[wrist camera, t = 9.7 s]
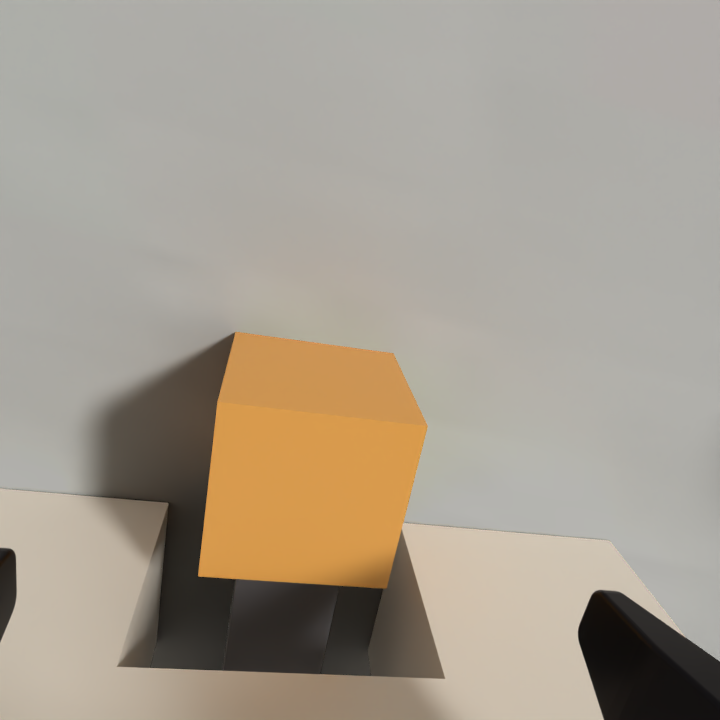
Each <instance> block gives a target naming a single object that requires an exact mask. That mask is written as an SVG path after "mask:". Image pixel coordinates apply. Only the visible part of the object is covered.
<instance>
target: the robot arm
mask: <svg viewBox="0 0 720 720" xmlns="http://www.w3.org/2000/svg"><path fill="white" fill-rule="evenodd" d="M16 597H17V575H16V555H15V552H14V551H13V550H12V549H10V548H0V642H1V640H2V637H3V635H4V632H5V630H6V628H7V625H8V623H9V620H10V618H11V615H12V613H13V610H14V607H15V603H16ZM578 640H579V645H580V648H581V651H582V654H583V657H584V660H585V663H586V666H587V669H588V672H589V676H590V679H591V682H592V685H593V688H594V691H595V694H596V697H597V700H598V703H599V707H600V710H601V713H602V716H603V719H604V720H720V661H718V660H717V659H715V658H714V657H712V656H711V655H710V654H708V653H707V652H705V651H704V650H703V649H701V648H700V647H698V646H697V645H695V644H694V643H693V642H691V641H690V640H688V639H687V638H685V637H684V636H683V635H681V634H680V633H678V632H677V631H676V630H674V629H673V628H671V627H670V626H668V625H667V624H666V623H664V622H663V621H661V620H660V619H658V618H657V617H656V616H654V615H653V614H651V613H650V612H648V611H647V610H646V609H644V608H643V607H641V606H640V605H639V604H637V603H636V602H634V601H633V600H631V599H630V598H629V597H627V596H626V595H624V594H623V593H621V592H618V591H611V590H597V591H595V592H594V593H593V594H592V595H591V597H590V599H589V602H588V604H587V607H586V609H585V612H584V614H583V617H582V619H581V621H580V624H579V627H578Z"/></svg>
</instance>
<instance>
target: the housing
mask: <svg viewBox="0 0 720 720" xmlns="http://www.w3.org/2000/svg"><path fill="white" fill-rule="evenodd" d="M168 504H169V503H163V502H152V501H140V500H128V499H117V498H105V497H93V496H81V495H70V494H58V493H46V492H35V491H23V490H11V489H0V548H10V549H12V550H13V551H14V552H15V555H16V575H17V597H16V603H15V607H14V610H13V613H12V615H11V618H10V620H9V623H8V625H7V628H6V630H5V632H4V635H3V637H2V640H1V642H0V720H604V719H603V716H602V713H601V710H600V707H599V703H598V700H597V697H596V694H595V691H594V688H593V685H592V682H591V679H590V676H589V672H588V669H587V666H586V663H585V660H584V657H583V654H582V651H581V648H580V645H579V640H578V627H579V624H580V621H581V619H582V617H583V614H584V612H585V609H586V607H587V604H588V602H589V599H590V597H591V595H592V594H593V593H594V592H595V591H597V590H611V591H618V592H621V593H623V594H624V595H626V596H627V597H629V598H630V599H631V600H633V601H634V602H636V603H637V604H639V605H640V606H641V607H643V608H644V609H646V610H647V611H648V612H650V613H651V614H653V615H654V616H656V617H657V618H658V619H660V620H661V621H663V622H664V623H666V624H667V625H668V626H670V627H671V628H673V629H674V630H676V631H677V632H678V633H680V634H681V635H683V636H684V634H683V633H682V632H681V631H680V629H679V628H678V627H677V626H676V624H675V623H674V622H673V621H672V619H671V618H670V617H669V615H668V614H667V613H666V612H665V610H664V609H663V608H662V607H661V605H660V604H659V603H658V601H657V600H656V599H655V598H654V596H653V595H652V594H651V593H650V591H649V590H648V589H647V588H646V586H645V585H644V584H643V582H642V581H641V580H640V579H639V577H638V576H637V575H636V574H635V572H634V571H633V570H632V568H631V567H630V566H629V565H628V563H627V562H626V561H625V560H624V558H623V557H622V556H621V554H620V553H619V552H618V551H617V549H616V548H615V547H614V546H613V544H612V543H611V542H610V541H609V540H597V539H585V538H573V537H562V536H550V535H538V534H527V533H515V532H503V531H491V530H480V529H468V528H456V527H445V526H433V525H421V524H409V523H403V526H402V530H401V534H400V538H399V541H398V545H397V549H396V553H395V557H394V561H393V565H392V569H391V573H390V577H389V581H388V585H387V589H384V588H383V592H382V596H381V600H380V604H379V608H378V612H377V616H376V620H375V624H374V628H373V632H372V636H371V640H370V644H369V648H368V659H369V665H370V672H371V676H353V675H326V674H299V673H272V672H245V671H218V670H191V669H164V668H150V666H151V662H152V658H153V654H154V650H155V646H156V642H157V631H158V619H159V608H160V596H161V585H162V573H163V562H164V550H165V539H166V527H167V516H168ZM684 637H685V636H684ZM685 638H686V637H685Z"/></svg>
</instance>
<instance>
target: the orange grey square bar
mask: <svg viewBox="0 0 720 720" xmlns="http://www.w3.org/2000/svg"><path fill="white" fill-rule="evenodd" d="M427 427H428V426H427V424H426V422H425V419H424V417H423V415H422V413H421V411H420V409H419V407H418V405H417V403H416V400H415V398H414V396H413V394H412V392H411V390H410V388H409V386H408V384H407V381H406V379H405V377H404V375H403V373H402V371H401V369H400V367H399V365H398V362H397V360H396V358H395V356H394V354H393V353H387V352H379V351H372V350H365V349H357V348H350V347H343V346H335V345H328V344H321V343H314V342H306V341H299V340H292V339H284V338H277V337H270V336H262V335H255V334H248V333H240V332H235V336H234V340H233V344H232V348H231V352H230V356H229V359H228V363H227V367H226V371H225V375H224V379H223V382H222V386H221V390H220V394H219V398H218V402H217V411H216V420H215V429H214V438H213V447H212V455H211V464H210V473H209V482H208V491H207V500H206V509H205V518H204V527H203V536H202V545H201V554H200V563H199V572H198V577H213V578H229V579H235V580H234V588H233V595H232V602H231V609H230V616H229V624H228V631H227V638H226V645H225V652H224V660H223V667H222V671H245V672H272V673H299V674H320V673H321V669H322V664H323V659H324V655H325V650H326V646H327V641H328V636H329V632H330V627H331V623H332V618H333V613H334V609H335V604H336V600H337V595H338V590H339V586H353V587H368V588H384V589H387V585H388V581H389V577H390V573H391V569H392V565H393V561H394V557H395V553H396V549H397V545H398V541H399V538H400V534H401V530H402V526H403V522H404V518H405V514H406V510H407V506H408V502H409V498H410V494H411V490H412V486H413V482H414V478H415V474H416V470H417V466H418V462H419V458H420V455H421V451H422V447H423V443H424V439H425V435H426V431H427Z"/></svg>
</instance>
